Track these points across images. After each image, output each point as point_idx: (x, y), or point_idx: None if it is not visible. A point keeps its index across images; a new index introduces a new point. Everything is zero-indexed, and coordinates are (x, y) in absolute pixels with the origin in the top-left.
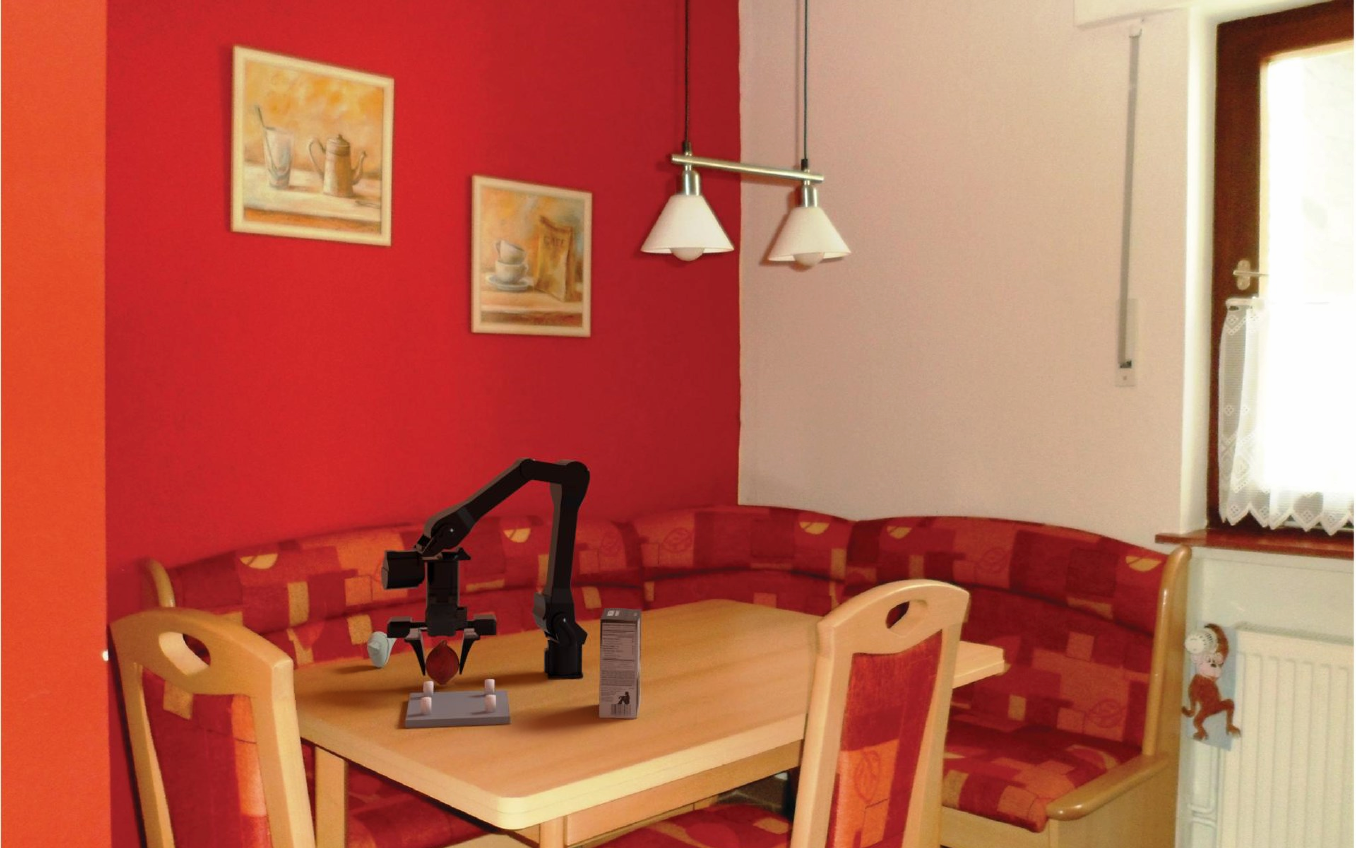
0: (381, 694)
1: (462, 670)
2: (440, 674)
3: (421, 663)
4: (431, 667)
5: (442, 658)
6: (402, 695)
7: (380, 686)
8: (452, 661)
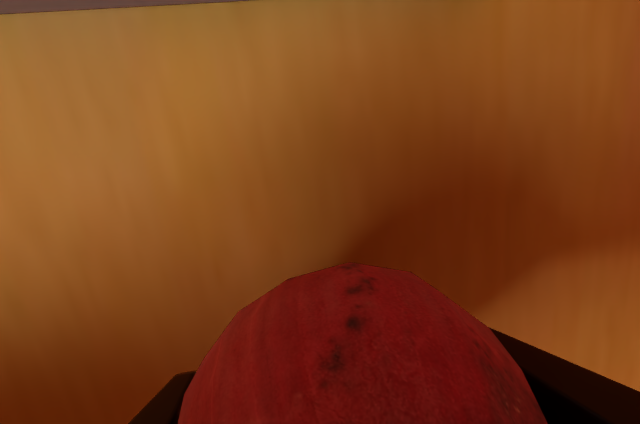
0: (635, 155)
1: (153, 398)
2: (341, 265)
3: (572, 377)
4: (457, 306)
5: (371, 414)
6: (532, 129)
7: (620, 307)
8: (213, 413)
